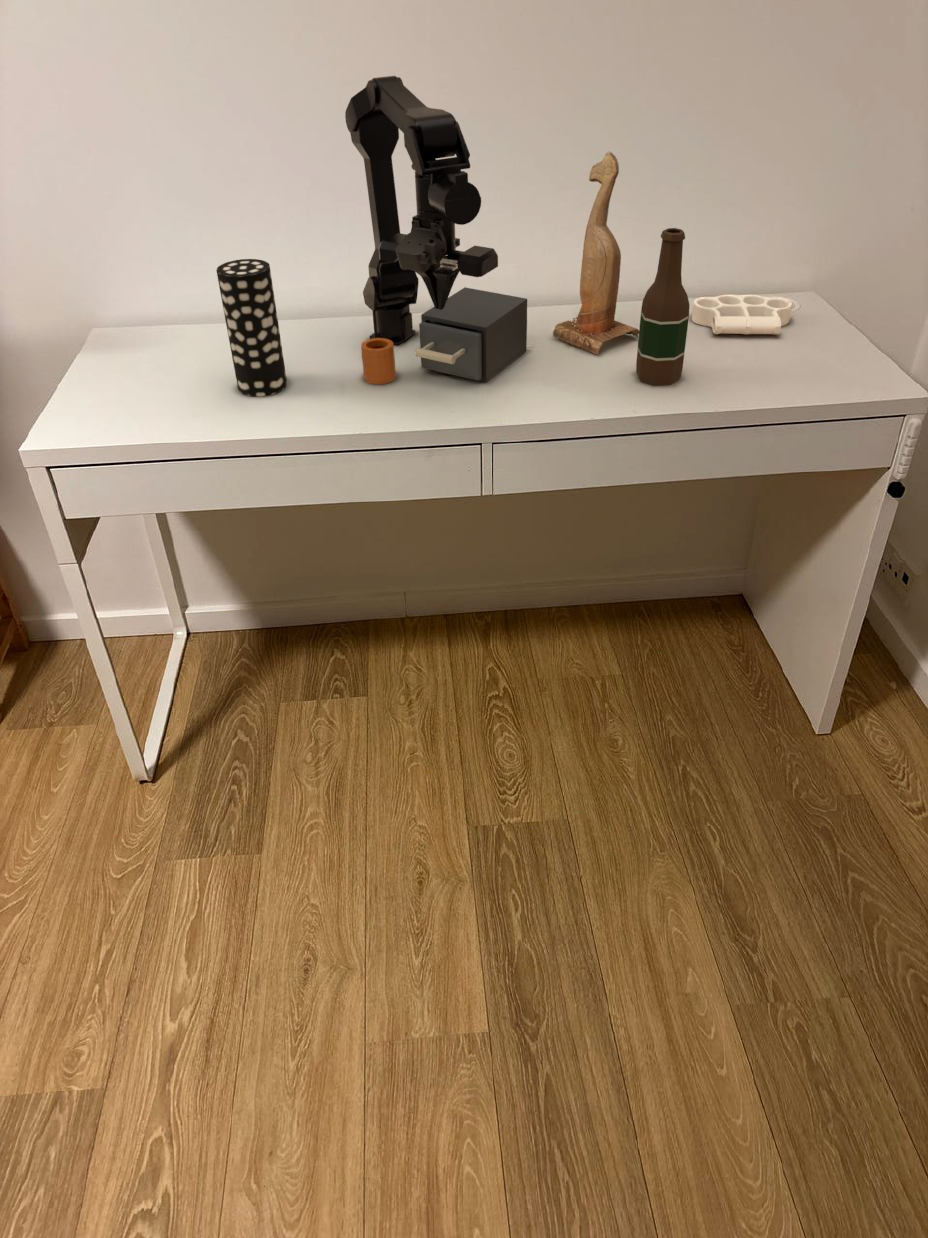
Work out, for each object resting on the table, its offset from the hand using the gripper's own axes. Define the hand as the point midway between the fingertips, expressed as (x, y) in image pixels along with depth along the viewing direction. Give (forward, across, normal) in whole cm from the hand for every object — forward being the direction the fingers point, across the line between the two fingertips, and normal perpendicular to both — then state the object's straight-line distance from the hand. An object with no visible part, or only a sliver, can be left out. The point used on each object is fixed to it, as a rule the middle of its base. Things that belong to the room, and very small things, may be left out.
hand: (439, 308), depth 156 cm
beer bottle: (+13, +31, +19) cm, 39 cm away
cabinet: (+13, 0, +11) cm, 17 cm away
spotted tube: (+13, -27, -15) cm, 34 cm away
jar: (+13, -11, -3) cm, 17 cm away
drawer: (+12, 0, +6) cm, 14 cm away
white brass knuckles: (+13, +36, +48) cm, 62 cm away
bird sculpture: (+13, +15, +29) cm, 35 cm away
